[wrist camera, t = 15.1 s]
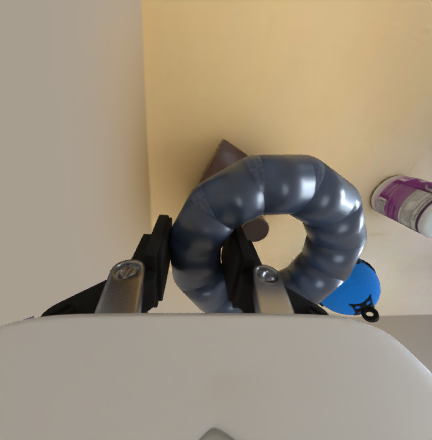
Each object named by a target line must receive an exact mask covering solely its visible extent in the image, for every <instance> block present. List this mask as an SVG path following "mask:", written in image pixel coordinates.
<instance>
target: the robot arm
mask: <svg viewBox="0 0 432 440" xmlns="http://www.w3.org/2000/svg"><path fill="white" fill-rule="evenodd" d="M171 228H172V218H169V215H159V217H158V220H157V222H156V224H155V227H154V229H153V232H152V234H144V235H143V237H142V238H141V241H140V243H139V245H138V247H137V249H136V251H135V253H134V255H133V257H132V259H131V260H125V261H122V262H119V263H118V264H116V265H115V266H114V267H113V268H112V269H111V271H110V273H109V276H108V279H107V280H105V281H103V282H101V283H99V284H97V285H95V286H93V287H90V288H89V289H86V290H84V291H83V292H80V293H78V294H76V295H74V296H72V297H70V298H68V299H66V300H64V301H62V302H60V303H58V304H56V305H54V306H52V307H51V308H49V309H48V310H47V311H45V312H44V313H43V314H42V316H41V317H37V318H34V316H33V317H30V318H27V319H24V320H22V321H17V322H13V323H9V324H6V325H2V326H0V440H432V374H431V372H430V371H429V370H428V369H427V368H426V367H425V366H424V365H423V364H422V363H421V362H420V361H419V360H418V359H417V358H416V357H415V356H414V355H413V354H412V353H411V352H409V351H408V350H407V349H406V348H405V347H404V346H403V345H402V344H401V343H399V342H398V341H397V340H396V339H395V338H393V337H392V336H390V335H389V334H387V333H386V332H384V331H382V330H380V329H378V328H376V327H373V326H371V325H368V324H366V323H363V322H360V321H357V320H353V319H348V318H344V317H337V316H329V315H328V314H327V312H326V311H325V310H324V309H322V308H321V307H319V306H318V305H316V304H315V303H313V302H311V301H310V300H308V299H306V298H305V297H303V296H301V295H300V294H298V293H296V292H294V291H293V290H291V289H289V288H288V287H286V286H285V285H284V283H283V280H282V277H281V275H280V273H279V272H278V271H277V270H276V269H274V268H273V267H270V266H267V265H262V263H261V261H260V259H259V257H258V255H257V252H256V250H255V248H254V246H253V243H252V241H251V240H247V238H246V236H245V233H244V231H243V228H242V226H240V227H238V228H236V229H234V231H233V232H232V234H231V235H230V236H229V238H228V239H227V241H226V242H225V243H224V245H223V248H222V254H221V261H222V265H223V273H224V279H225V285H226V291H227V297H228V301H229V302H231V303H232V308H239V309H240V310H241V313H148V311H149V310H150V309H151V308H153V307H157V306H158V301H162V300H163V294H164V290H165V285H166V280H167V274H168V270H169V265H170V260H171V258H170V250H169V233H170V230H171Z"/></svg>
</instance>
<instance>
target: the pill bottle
mask: <svg viewBox="0 0 432 440" xmlns="http://www.w3.org/2000/svg"><path fill="white" fill-rule="evenodd" d="M371 204H372V207H373V209H374V210H375V211H377V212H379V213H381V214H383V215H385V216H387V217H389V218H391V219H393V220H395V221H397V222H399V223H401V224H403V225H405V226H406V227H408V228H410V229H412V230H414V231H416V232H418V233H420V234H422V235H424V236H426V237H429V238H432V182H428V181H425V180H421V179H417V178H412V177H408V176H403V175H399V176H394V177H391V178H389V179H387V180H385V181H384V182H383V183H381V184H380V185H379V186H378V187H377V188H376V190H375V191H374V193H373V195H372V199H371Z"/></svg>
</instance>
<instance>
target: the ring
mask: <svg viewBox="0 0 432 440" xmlns="http://www.w3.org/2000/svg"><path fill="white" fill-rule="evenodd" d="M278 214H290V215H291V216H293V217H295V218H296V219H298V220H300V221H302V222H303V224H304V227H305V230H306V232H307V236H306V240H305V243H304V247H303V250H302V252H301V253H300V254H299V255H298V256H297V257H296V258H295V259H294V260H293V261H292V262H291V264H290V265H289V266H288V267H286V268H284V269H282V270H280V271H278V272H279V273H280V275H281V277H282V280H283V283H284V285H285V286H286V287H288V288H289V289H291V290H293V291H294V292H296V293H298V294H300V295H301V296H303V297H305V298H306V299H308V300H310V301H311V302H313V303H315V304H316V305H318V304H319V303H321V302H322V301H323V300H324V299H325V298H326V297H327V296H329V295H330V294H331V293H332V292H333V291H334V290H336V289H337V288H338V287H339V286H340V285H341V284H343V283H344V282H345V281H346V280H347V279H348V278H349V276H350V274H351V272H352V270H353V268H354V266H355V264H356V262H357V260H358V258H359V256H360V253H361V251H362V249H363V247H364V245H365V243H366V239H367V231H366V225H365V219H364V213H363V207H362V202H361V197H360V194H359V192H358V190H357V189H356V188H355V187H354V186H353V185H352V184H351V183H350V182H349V181H347V180H346V179H345V178H343V177H342V176H341V175H339V174H338V173H337V172H335V171H334V170H333V169H331V168H330V167H329V166H327V165H326V164H325V163H323V162H322V161H321V160H319V159H317V158H315V157H313V156H309V155H250V156H246V157H244V158H242V159H240V160H238V161H237V162H235V163H233V164H232V165H230V166H228V167H226V168H225V169H223V170H221V171H220V172H218V173H216V174H215V175H213V176H211V177H209V178H208V179H206V180H204V181H203V182H201V183H200V184H198V185H197V186H196V187H195V188H194V189H193V190H192V192H191V193H190V195H189V197H188V199H187V200H186V202H185V204H184V206H183V208H182V210H181V211H180V213H179V215H178V217H177V219H176V221H175V222H174V224H173V226H172V228H171V230H170V233H169V250H170V258H171V265H172V273H173V277H174V281H175V283H176V285H177V286H178V287H179V288H180V289H181V290H182V291H183V293H185V294H186V296H188V298H189V299H190V300H191V301H192V302H193V303H194V304H195V305H196V306H197V307H198V308H199V309H200V310H202V311H203V312H205V313H241V310H240V309H239V308H232V303H231V302H229V301H228V297H227V291H226V285H225V279H224V273H223V265H222V263H221V248H222V246H223V245H224V243H225V242H226V241H227V239H228V238H229V236H230V235H231V234H232V232H233V231H234V229H236V228H238V227H240V226H242V225H244V224H246V223H248V222H250V221H252V220H254V219H256V218H257V217H259V216H261V215H278Z"/></svg>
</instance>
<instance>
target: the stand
mask: <svg viewBox="0 0 432 440" xmlns="http://www.w3.org/2000/svg"><path fill="white" fill-rule="evenodd" d="M246 156H248V155H247V154H245V153H244V152H242V151H241V150H239V149H238V148H236V147H235V146H233V145H232V144H230V143H229V142H227V141H226V140H225V139H223V140H222V142H221V143H220V145H219V147H218V149H217V150H216V152H215V154H214V155H213V157H212V159H211V161H210V162H209V164H208V166H207V168H206V169H205V171H204V173H203V175H202V176H201V178H200V180H199V181H198V183H197V185H198V184H200V183H201V182H203V181H204V180H206V179H208V178H209V177H211V176H213V175H215V174H216V173H218V172H220V171H221V170H223V169H225V168H226V167H228V166H230V165H232V164H233V163H235V162H237V161H238V160H240V159H242V158H244V157H246ZM197 185H196V186H197ZM242 228H243V231H244V233H245V236H246V238H247V240H251V241H252V242H257V241H260V240H262V239H263V238H265V237H266V235H267V234H268V231H269V225H268V223H267V222H266V220H265V219H264V217H263V216H262V215H261V216H259V217H257V218H256V219H254V220H252V221H250V222H248V223H246V224H244V225H242Z"/></svg>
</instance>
